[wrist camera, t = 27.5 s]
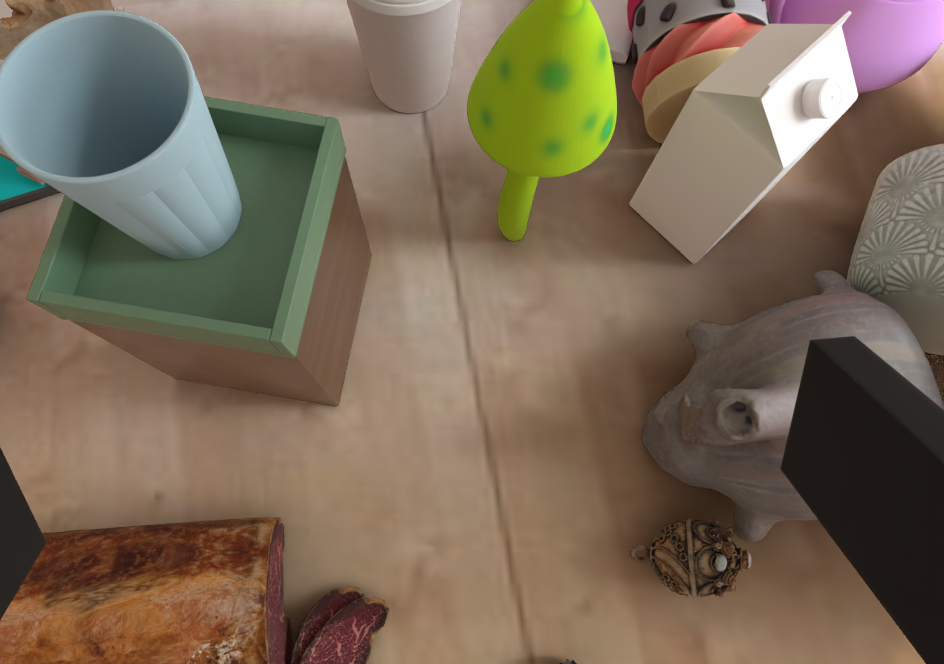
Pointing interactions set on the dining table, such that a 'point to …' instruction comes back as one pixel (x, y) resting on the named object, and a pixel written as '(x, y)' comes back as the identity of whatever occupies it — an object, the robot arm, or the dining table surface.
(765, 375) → the piggy bank
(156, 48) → the cup
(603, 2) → the hard drive
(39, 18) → the figurine
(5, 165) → the smartphone
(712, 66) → the cake
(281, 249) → the tray
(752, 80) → the milk carton
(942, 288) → the planter
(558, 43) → the mushroom
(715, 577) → the pendant
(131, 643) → the cured meat
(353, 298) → the stand
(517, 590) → the dining table surface
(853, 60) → the teapot
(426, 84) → the coffee cup
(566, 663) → the handgun
